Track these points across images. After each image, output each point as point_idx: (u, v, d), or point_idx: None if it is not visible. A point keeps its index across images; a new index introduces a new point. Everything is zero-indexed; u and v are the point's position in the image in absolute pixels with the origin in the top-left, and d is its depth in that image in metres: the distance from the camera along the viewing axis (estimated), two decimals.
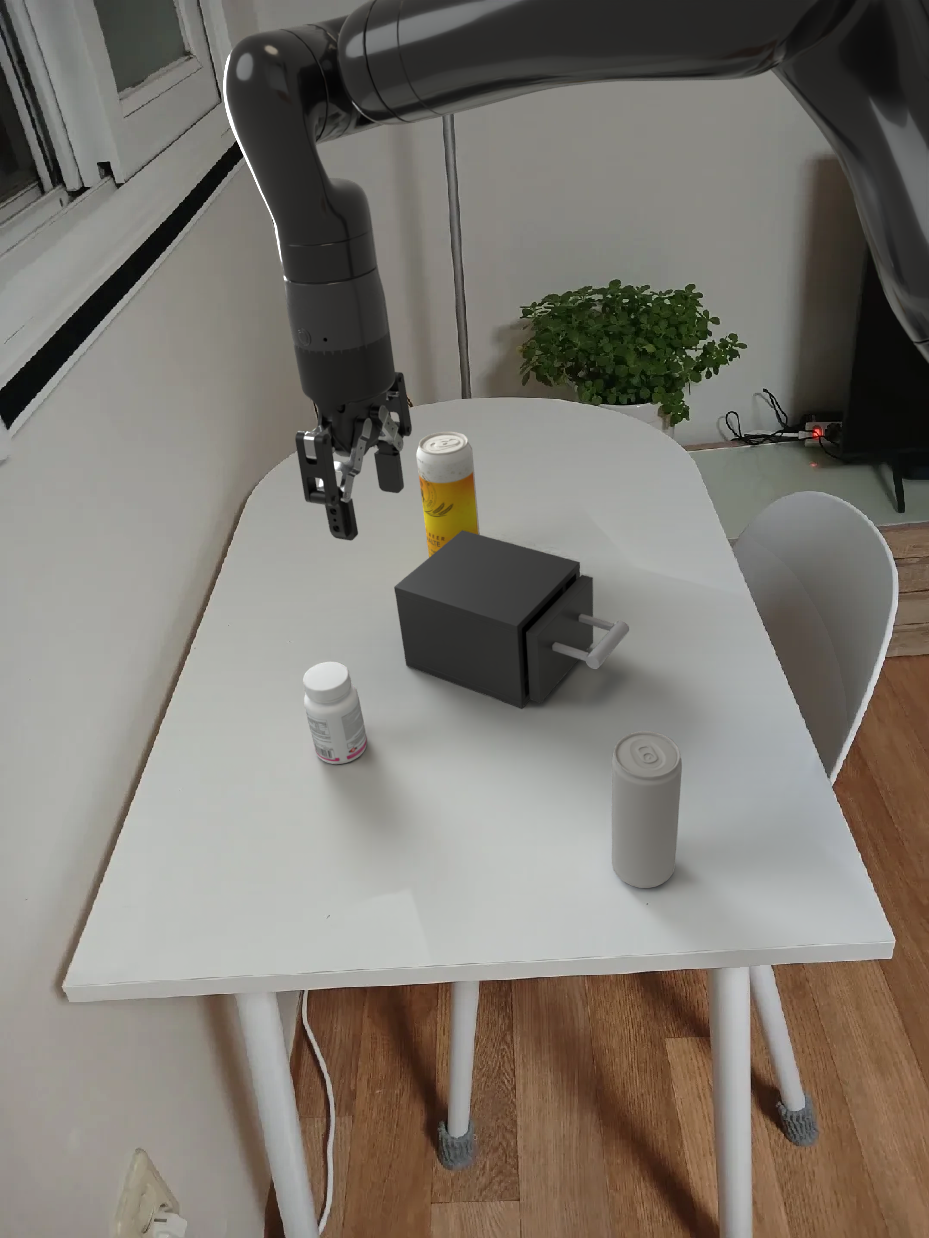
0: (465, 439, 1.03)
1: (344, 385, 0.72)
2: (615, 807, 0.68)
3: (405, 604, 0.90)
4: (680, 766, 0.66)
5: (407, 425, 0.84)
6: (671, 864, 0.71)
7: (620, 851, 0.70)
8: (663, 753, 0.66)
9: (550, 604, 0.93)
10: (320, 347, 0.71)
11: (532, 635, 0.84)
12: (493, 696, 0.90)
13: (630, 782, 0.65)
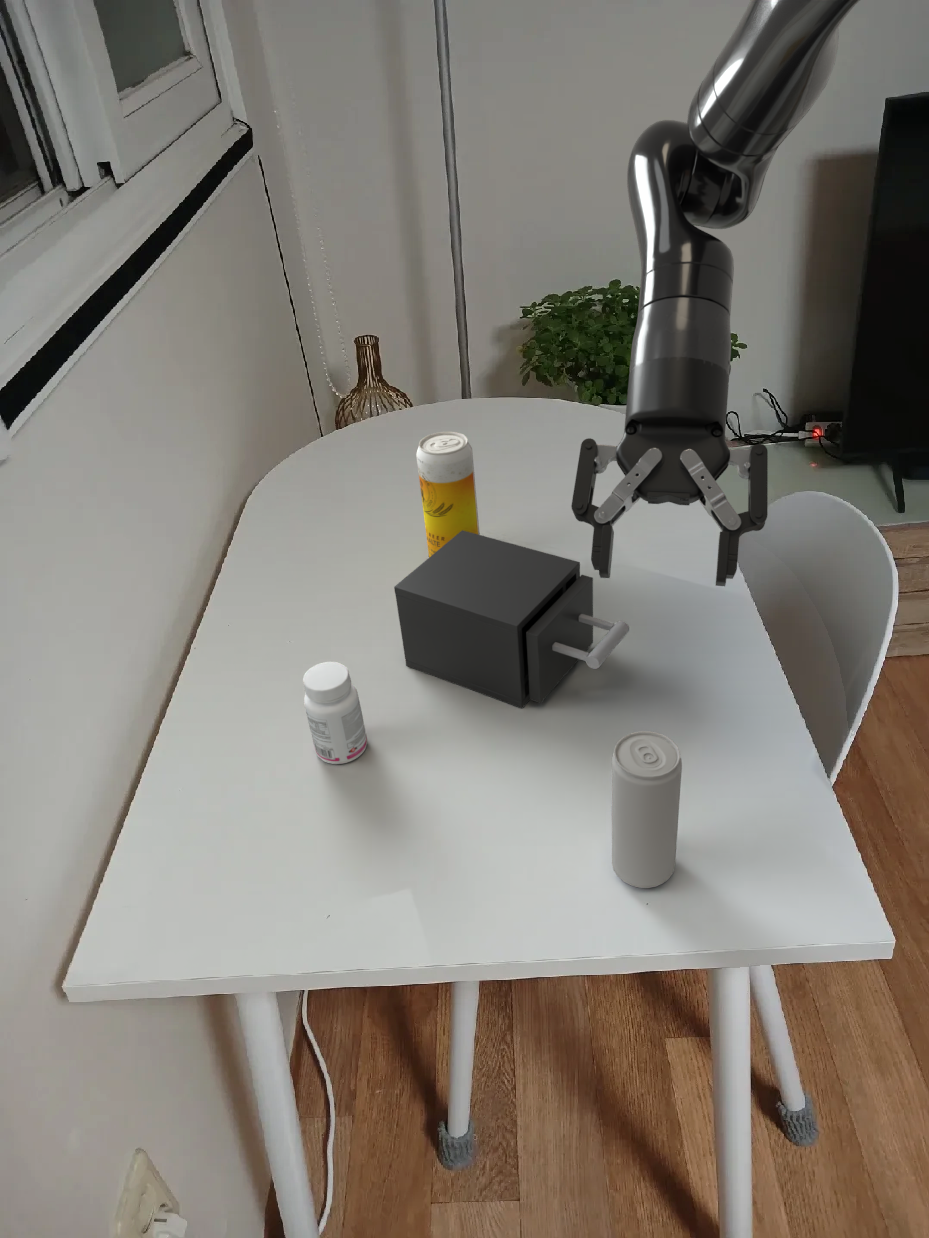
0: (465, 439, 1.03)
1: (630, 402, 0.72)
2: (615, 807, 0.68)
3: (405, 604, 0.90)
4: (680, 766, 0.66)
5: (757, 509, 0.69)
6: (671, 864, 0.71)
7: (620, 851, 0.70)
8: (663, 753, 0.66)
9: (550, 604, 0.93)
10: None
11: (532, 635, 0.84)
12: (493, 696, 0.90)
13: (630, 782, 0.65)
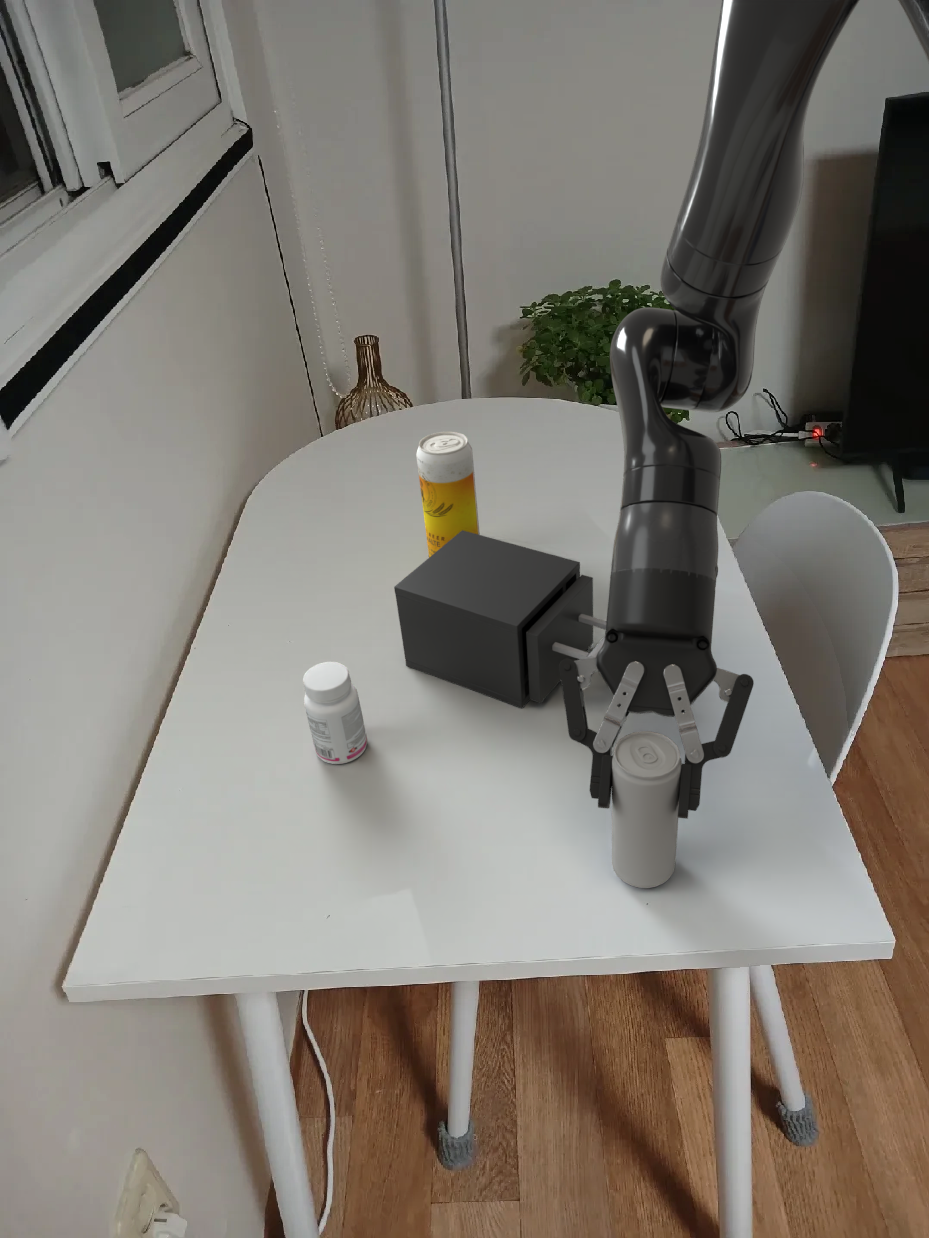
0: (465, 439, 1.03)
1: (611, 609, 0.68)
2: (615, 807, 0.68)
3: (405, 604, 0.90)
4: (680, 766, 0.66)
5: (723, 742, 0.65)
6: (671, 864, 0.71)
7: (620, 851, 0.70)
8: (663, 753, 0.66)
9: (550, 604, 0.93)
10: (611, 571, 0.70)
11: (532, 635, 0.84)
12: (493, 696, 0.90)
13: (629, 782, 0.65)
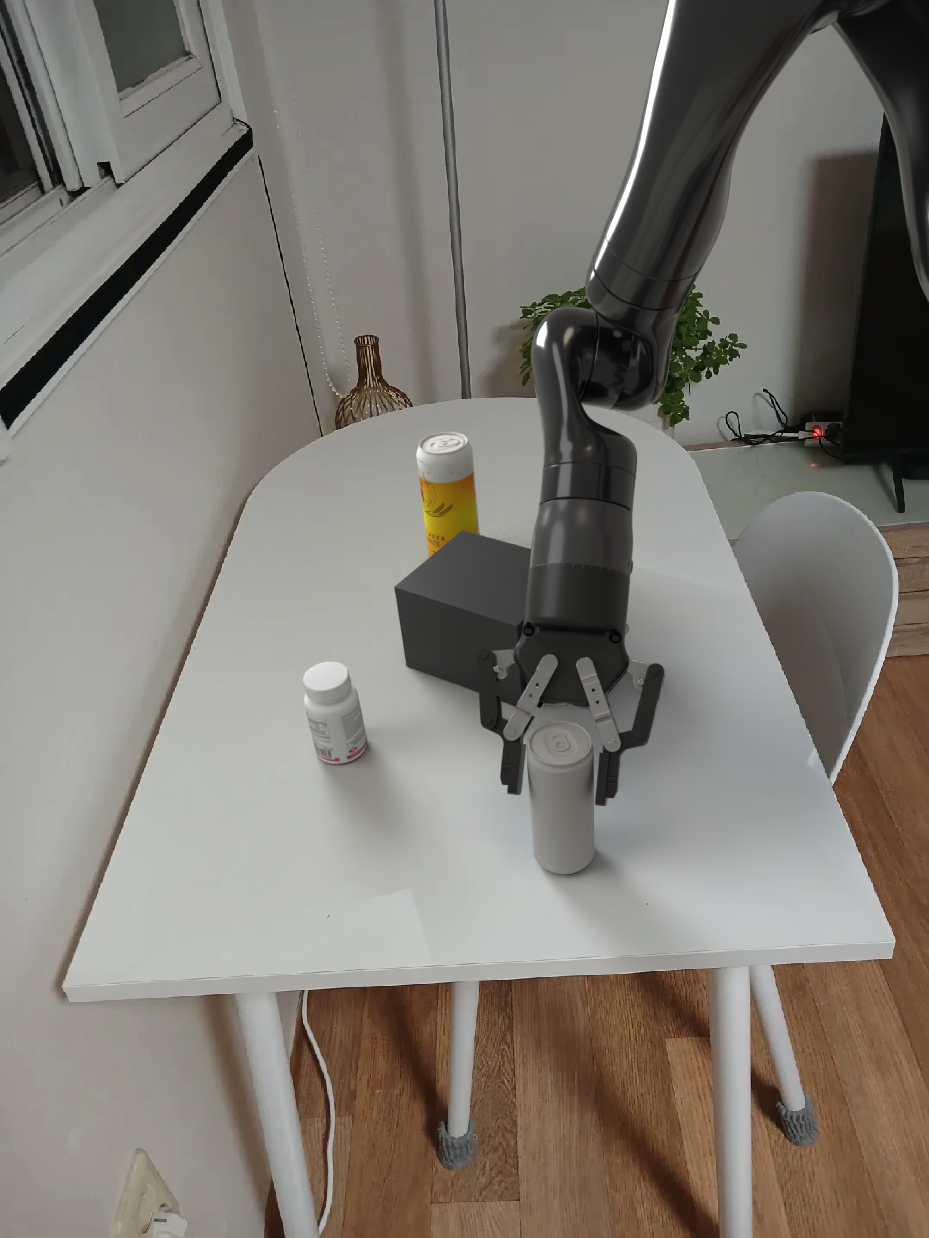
0: (465, 439, 1.03)
1: (527, 603, 0.69)
2: (531, 794, 0.70)
3: (405, 604, 0.90)
4: (592, 754, 0.67)
5: (639, 731, 0.67)
6: (589, 851, 0.72)
7: (538, 838, 0.72)
8: (575, 742, 0.68)
9: None
10: None
11: None
12: None
13: (541, 770, 0.67)
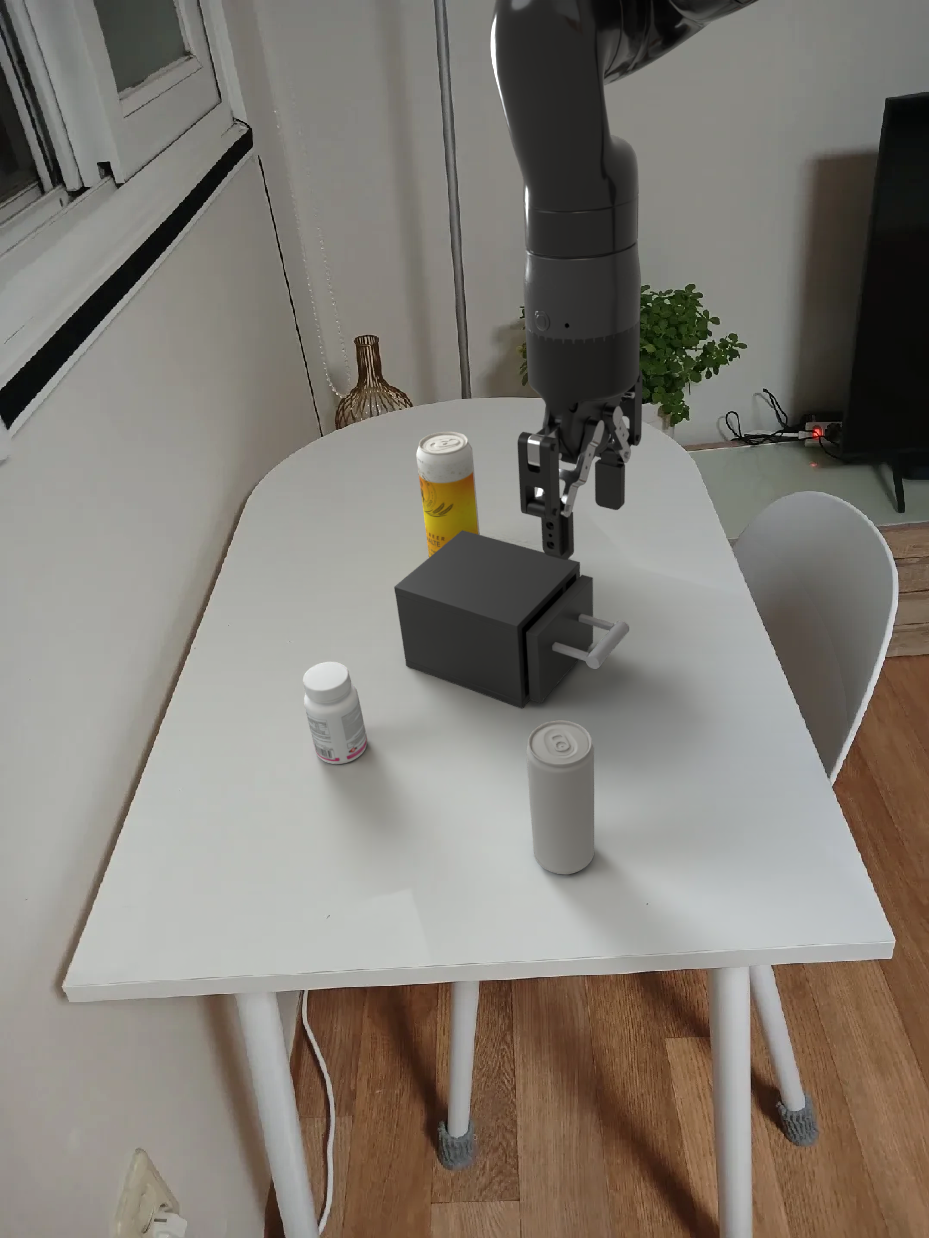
0: (465, 439, 1.03)
1: (581, 380, 0.61)
2: (531, 794, 0.70)
3: (405, 604, 0.90)
4: (592, 754, 0.67)
5: (637, 433, 0.72)
6: (589, 851, 0.72)
7: (538, 838, 0.72)
8: (575, 742, 0.68)
9: (550, 604, 0.93)
10: (559, 334, 0.60)
11: (532, 635, 0.84)
12: (493, 696, 0.90)
13: (541, 770, 0.67)
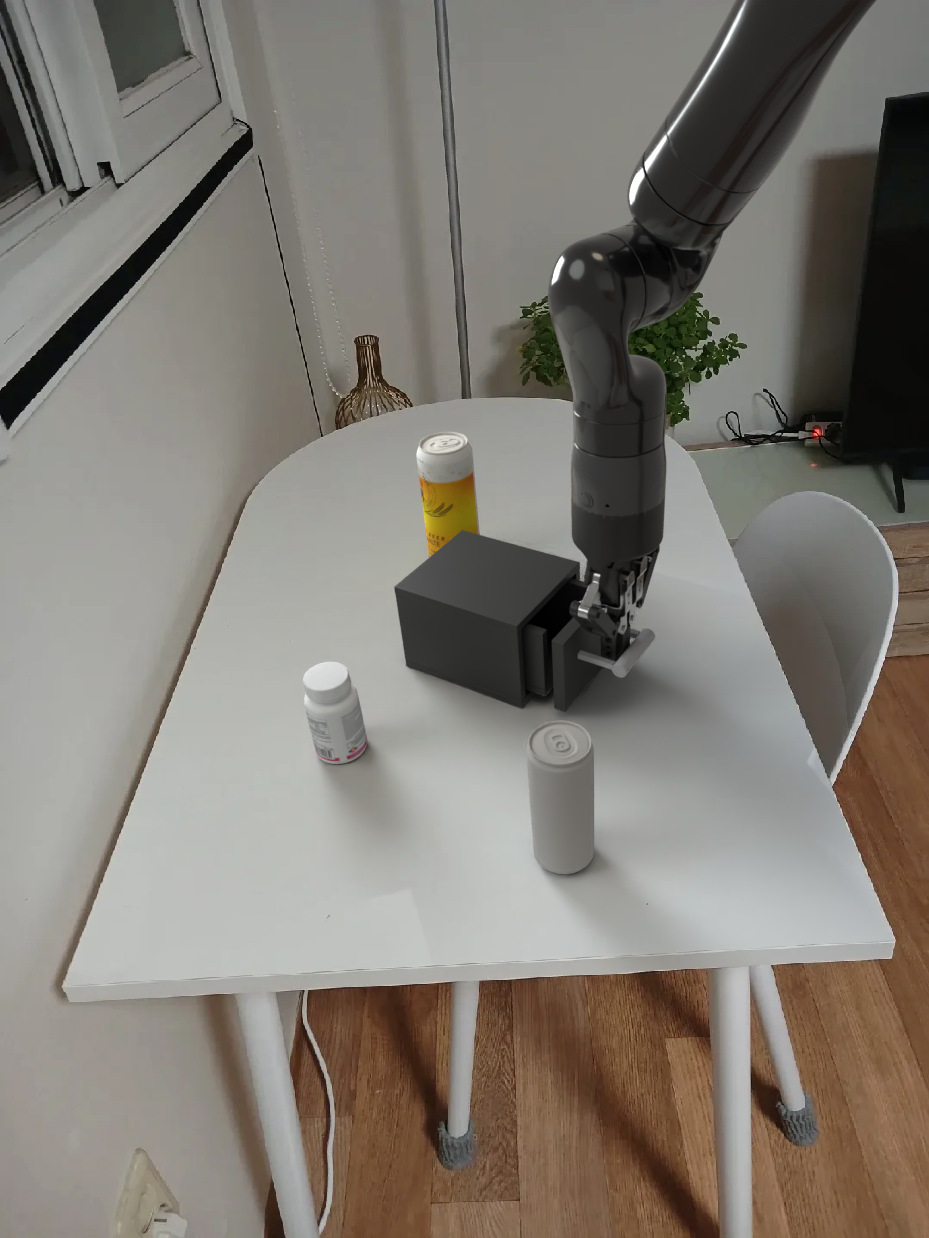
0: (465, 439, 1.03)
1: (618, 546, 0.75)
2: (531, 794, 0.70)
3: (405, 604, 0.90)
4: (592, 754, 0.67)
5: (642, 597, 0.85)
6: (589, 851, 0.72)
7: (538, 838, 0.72)
8: (575, 742, 0.68)
9: None
10: (601, 511, 0.74)
11: (558, 643, 0.82)
12: (493, 696, 0.90)
13: (541, 770, 0.67)
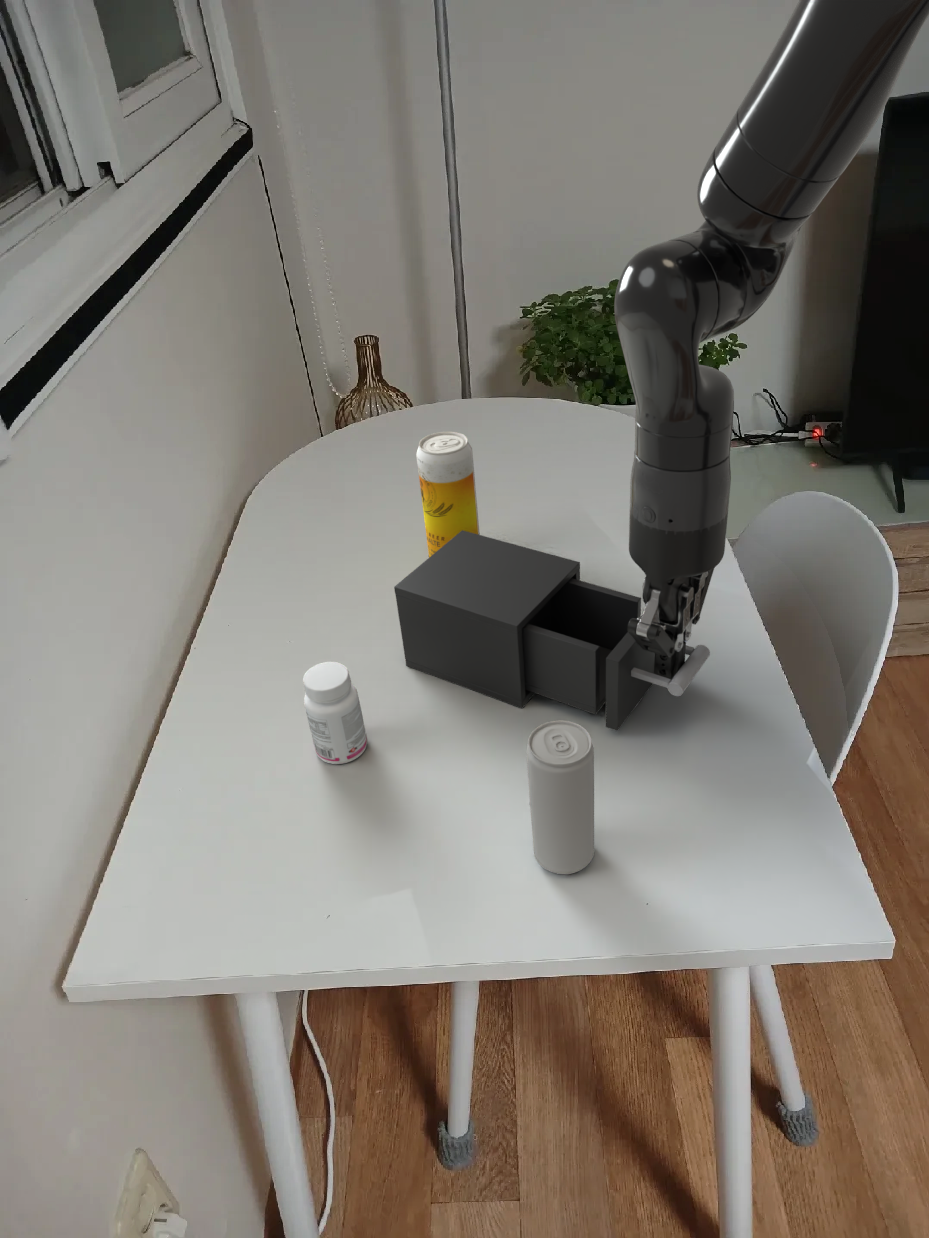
0: (465, 439, 1.03)
1: (680, 562, 0.73)
2: (531, 794, 0.70)
3: (405, 604, 0.90)
4: (592, 754, 0.67)
5: (698, 613, 0.82)
6: (589, 851, 0.72)
7: (538, 838, 0.72)
8: (575, 742, 0.68)
9: (623, 626, 0.89)
10: (663, 526, 0.71)
11: (612, 661, 0.80)
12: (493, 696, 0.90)
13: (541, 770, 0.67)
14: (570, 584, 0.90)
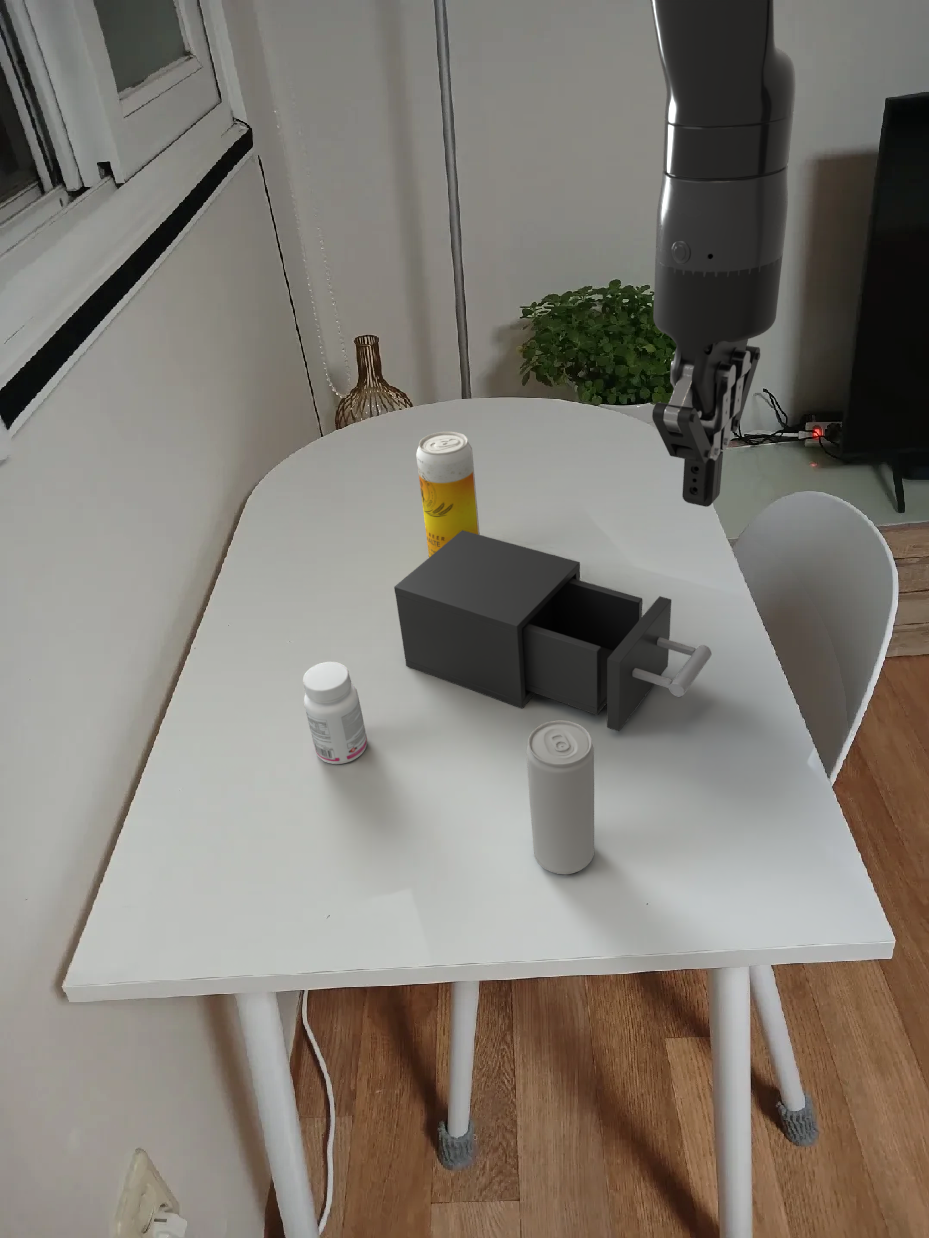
0: (465, 439, 1.03)
1: (721, 318, 0.56)
2: (531, 794, 0.70)
3: (405, 604, 0.90)
4: (592, 754, 0.67)
5: (738, 417, 0.66)
6: (589, 851, 0.72)
7: (538, 838, 0.72)
8: (575, 742, 0.68)
9: (624, 626, 0.89)
10: (701, 266, 0.55)
11: (614, 662, 0.80)
12: (493, 696, 0.90)
13: (541, 770, 0.67)
14: (571, 584, 0.90)
